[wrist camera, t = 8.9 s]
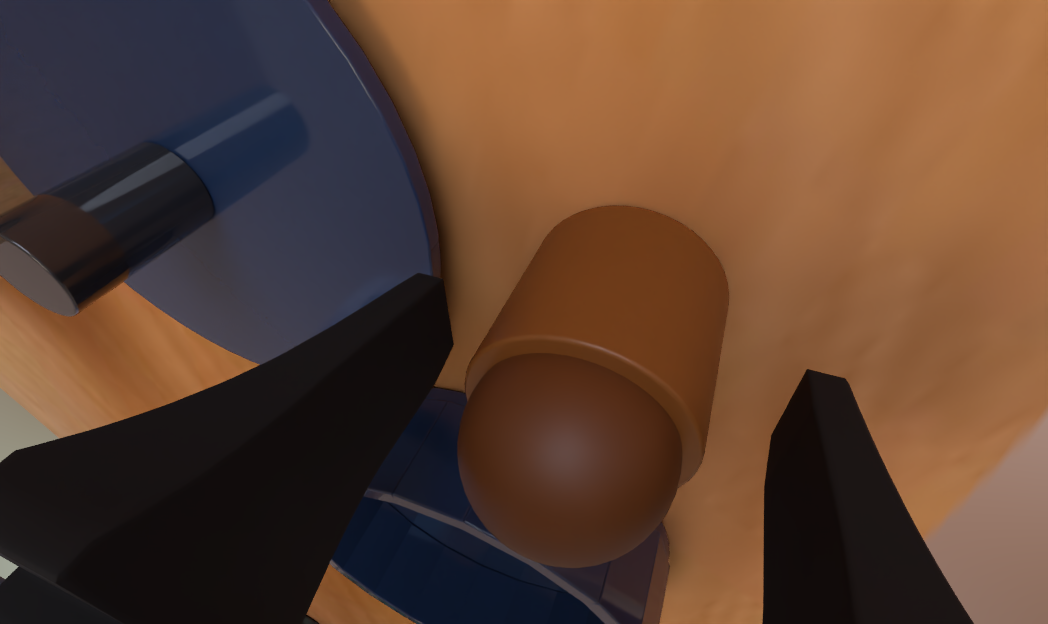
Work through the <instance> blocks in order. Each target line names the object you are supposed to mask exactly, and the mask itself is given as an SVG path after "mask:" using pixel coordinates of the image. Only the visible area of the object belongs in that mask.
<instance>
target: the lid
mask: <svg viewBox="0 0 1048 624" xmlns="http://www.w3.org/2000/svg"><path fill="white" fill-rule="evenodd" d="M0 156H1V158H2V159H3V160H4V161H5V163H6V164H7V165H8V166H9V168H10V169H11V170H12V172H13V173H14V174H15V175H16V176H17V177H18V178H19V180H20V181H21V182H22V183H23V184H24V185H25V186H26V188H27V189H28V190H29V191H30V192H31V193H32V194H33V196H34V197H32V198H30V199H28V200H26V201H24V202H22V203H20V204H18V205H16V206H14V207H12V208H10V209H8V210H6V211H4V212H2V213H0V275H1V276H2V277H3V278H4V279H5V280H7V281H8V282H9V283H10V284H11V285H12V286H14V287H15V288H16V289H17V290H19V291H20V292H21V293H23V294H24V295H25V296H27V297H28V298H30V299H31V300H33V301H34V302H36V303H37V304H39V305H41V306H42V307H44V308H46V309H48V310H50V311H52V312H55V313H57V314H60V315H63V316H75V315H77V314H78V313H80V312H81V311H83V310H84V309H86V308H87V307H88V306H90V305H91V304H93V303H94V302H96V301H97V300H98V299H100V298H101V297H103V296H104V295H106V294H107V293H108V292H110V291H111V290H113V289H114V288H116V287H117V286H118V285H120V284H121V283H123V282H125V283H126V284H127V285H128V286H130V287H131V288H132V289H133V290H135V291H136V292H137V293H139V294H140V295H141V296H143V297H144V298H145V299H147V300H148V301H149V302H151V303H152V304H153V305H155V306H156V307H157V308H159V309H160V310H162V311H163V312H165V313H166V314H168V315H169V316H171V317H172V318H174V319H175V320H177V321H178V322H180V323H181V324H183V325H184V326H186V327H188V328H189V329H191V330H193V331H194V332H196V333H198V334H199V335H201V336H202V337H204V338H206V339H208V340H209V341H211V342H213V343H215V344H217V345H219V346H221V347H223V348H225V349H226V350H228V351H230V352H232V353H235V354H237V355H239V356H241V357H243V358H246V359H248V360H250V361H252V362H255V363H257V364H260V365H261V364H263V363H265V362H267V361H269V360H271V359H273V358H275V357H277V356H279V355H281V354H283V353H285V352H287V351H289V350H290V349H292V348H294V347H296V346H298V345H299V344H301V343H303V342H305V341H306V340H308V339H310V338H312V337H314V336H315V335H317V334H319V333H321V332H322V331H324V330H326V329H328V328H330V327H331V326H333V325H335V324H336V323H338V322H339V321H341V320H343V319H344V318H346V317H347V316H349V315H351V314H352V313H354V312H356V311H357V310H359V309H360V308H362V307H364V306H365V305H367V304H369V303H370V302H372V301H373V300H375V299H376V298H378V297H380V296H381V295H383V294H384V293H386V292H387V291H389V290H391V289H392V288H394V287H395V286H397V285H398V284H400V283H402V282H403V281H405V280H407V279H408V278H410V277H412V276H413V275H415V274H417V273H422V274H426V275H430V276H434V277H438V278H440V272H441V257H440V246H439V235H438V228H437V223H436V219H435V214H434V210H433V205H432V201H431V196H430V192H429V189H428V186H427V183H426V181H425V178H424V175H423V172H422V169H421V166H420V163H419V160H418V157H417V155H416V152H415V149H414V147H413V145H412V142H411V140H410V138H409V136H408V134H407V132H406V130H405V127H404V125H403V123H402V121H401V119H400V117H399V114H398V112H397V110H396V108H395V106H394V104H393V102H392V100H391V98H390V96H389V95H388V93H387V91H386V90H385V88H384V86H383V84H382V83H381V81H380V79H379V77H378V76H377V74H376V72H375V71H374V69H373V67H372V65H371V64H370V62H369V60H368V58H367V57H366V55H365V53H364V52H363V50H362V49H361V47H360V46H359V44H358V43H357V42H356V40H355V39H354V37H353V36H352V34H351V33H350V32H349V30H348V29H347V27H346V26H345V24H344V23H343V22H342V20H341V19H340V17H339V16H338V14H337V13H336V12H335V10H334V9H333V7H332V6H331V5H330V3H329V2H328V0H0Z"/></svg>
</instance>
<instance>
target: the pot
mask: <svg viewBox="0 0 1048 624" xmlns="http://www.w3.org/2000/svg"><path fill="white" fill-rule="evenodd" d="M467 402H468V401H467V397H466V393H462V392H458V391H452V390H447V389H441V388H433V387H432V389H431V390H430V392H429V393H428V395H427V397H426V398H425V400H424V401H423V403H422V404H421V406H420V407H419V409H418V410H417V412H416V413H415V415H414V416H413V418H412V419H411V421H410V422H409V424H408V425H407V427H406V428H405V430H404V431H403V433H402V434H401V436H400V437H399V439H398V440H397V442H396V443H395V445H394V446H393V448H392V449H391V451H390V452H389V454H388V455H387V457H386V458H385V460H384V461H383V463H382V464H381V466H380V468H379V469H378V471H377V473H376V474H375V476H374V478H373V479H372V481H371V483H370V485H369V486H368V488H367V490H366V492H365V494H364V496H363V498H362V500H361V502H360V503H359V505H358V507H357V509H356V511H355V513H354V515H353V517H352V519H351V521H350V523H349V525H348V527H347V529H346V531H345V533H344V535H343V537H342V539H341V541H340V543H339V545H338V547H337V549H336V551H335V553H334V555H333V557H332V559H331V561H330V563H329V564H330V565H332V566H333V567H334V568H335V569H336V570H338V571H339V572H340V573H341V574H343V575H344V576H345V577H347V578H348V579H349V580H351V581H352V582H353V583H355V584H356V585H357V586H359V587H360V588H361V589H363V590H364V591H365V592H367V593H369V595H371V596H373V597H374V598H376V599H377V600H379V601H380V602H382V603H384V604H385V605H387V606H388V607H390V608H391V609H393V610H395V611H396V612H398V613H399V614H401V615H402V616H404V617H406V618H408V619H409V620H411V621H413V622H415V623H416V624H659V623H660V618H661V612H662V607H663V601H664V596H665V590H666V585H667V579H668V574H669V568H670V565H669V557H670V548H669V540H668V537H667V534H666V531H665V528H664V526H663V524H662V522H661V523H660V524H659V526H658V527H657V528H656V529H655V530H654V531H653V532H652V533H651V534H650V535H649V536H648V537H647V538H646V539H645V540H644V541H643V542H642V543H641V544H639V545H638V546H637V547H635V548H634V549H633V550H631V551H630V552H628V553H626V554H624V555H622V556H621V557H619V558H617V559H614V560H612V561H609V562H606V563H603V564H600V565H596V566H590V567H582V568H563V567H553V566H548V565H544V564H541V563H538V562H535V561H532V560H530V559H527V558H525V557H523V556H521V555H519V554H517V553H516V552H514V551H512V550H511V549H509V548H508V547H506V546H505V545H504V544H502V543H501V542H500V541H499V540H498V539H497V538H496V537H495V536H494V535H493V534H491V533H490V532H489V531H488V530H487V528H486V527H485V526H484V525H483V523H482V522H481V521H480V519H479V518H478V516H477V515H476V513H475V512H474V510H473V508H472V506H471V504H470V502H469V500H468V498H467V496H466V494H465V491H464V487H463V484H462V481H461V477H460V473H459V466H458V458H457V441H458V434H459V428H460V422H461V418H462V415H463V412H464V409H465V406H466V404H467Z"/></svg>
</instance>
